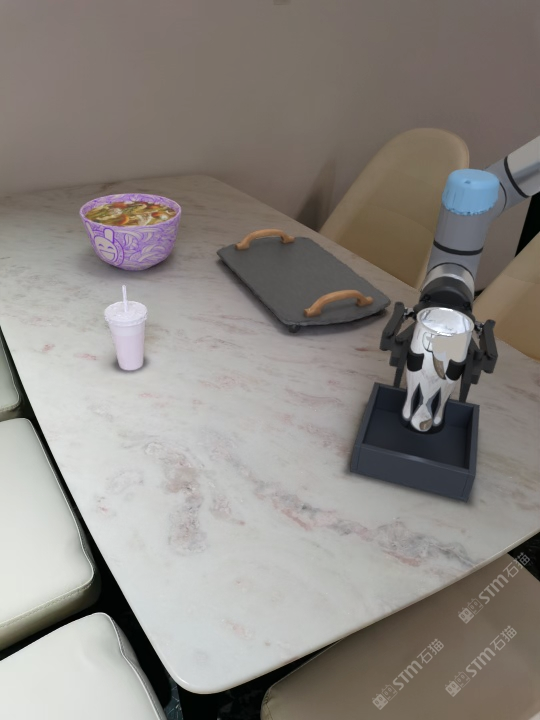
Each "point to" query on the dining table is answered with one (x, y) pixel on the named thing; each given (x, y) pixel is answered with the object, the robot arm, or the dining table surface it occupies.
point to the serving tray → (301, 280)
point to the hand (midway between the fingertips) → (430, 385)
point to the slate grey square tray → (417, 447)
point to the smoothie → (127, 331)
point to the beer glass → (434, 367)
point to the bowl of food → (132, 228)
